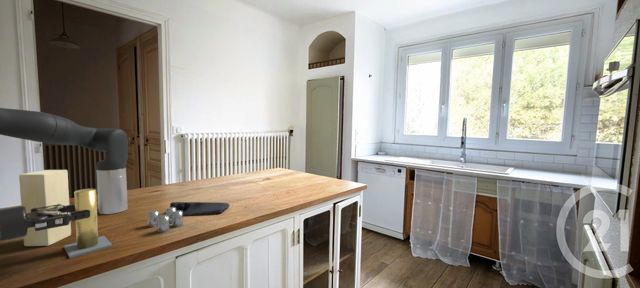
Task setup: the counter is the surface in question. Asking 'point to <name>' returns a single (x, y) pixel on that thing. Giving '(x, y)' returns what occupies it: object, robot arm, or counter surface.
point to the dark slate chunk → (199, 207)
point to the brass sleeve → (87, 226)
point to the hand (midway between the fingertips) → (86, 209)
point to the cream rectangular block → (44, 202)
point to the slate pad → (74, 251)
